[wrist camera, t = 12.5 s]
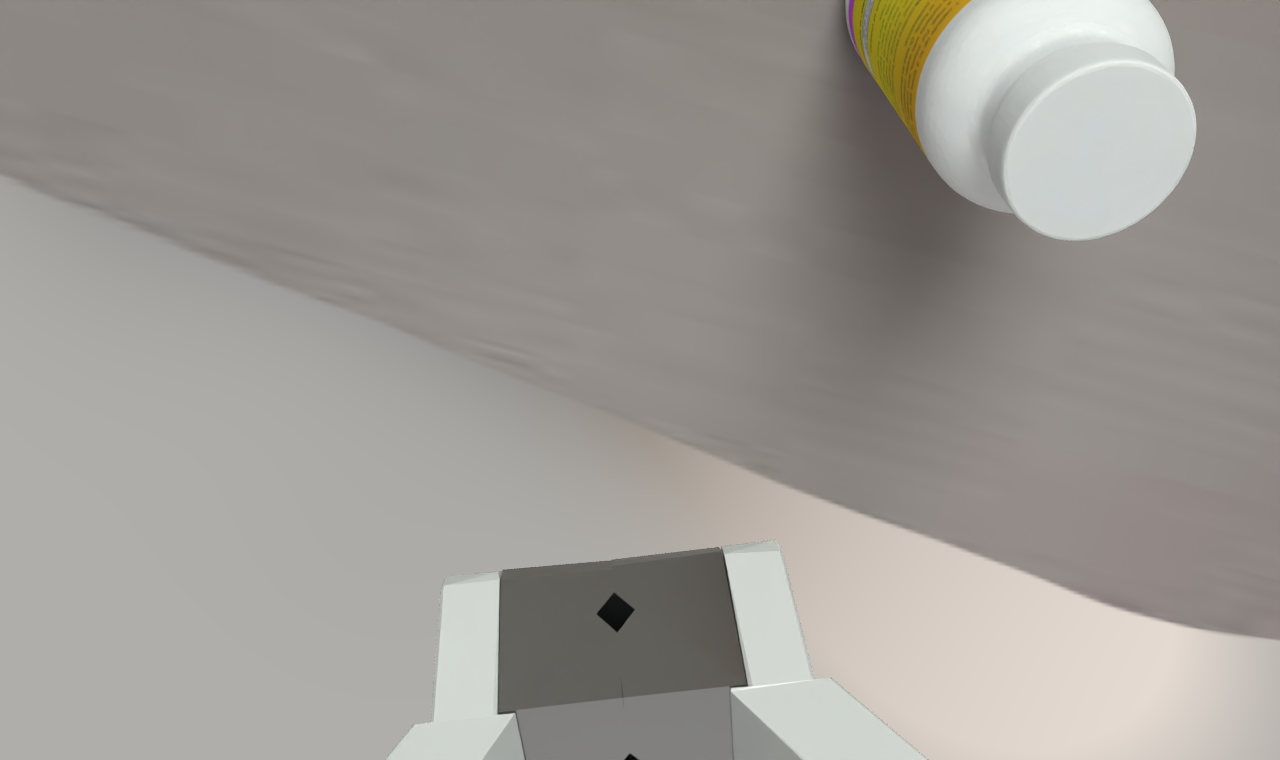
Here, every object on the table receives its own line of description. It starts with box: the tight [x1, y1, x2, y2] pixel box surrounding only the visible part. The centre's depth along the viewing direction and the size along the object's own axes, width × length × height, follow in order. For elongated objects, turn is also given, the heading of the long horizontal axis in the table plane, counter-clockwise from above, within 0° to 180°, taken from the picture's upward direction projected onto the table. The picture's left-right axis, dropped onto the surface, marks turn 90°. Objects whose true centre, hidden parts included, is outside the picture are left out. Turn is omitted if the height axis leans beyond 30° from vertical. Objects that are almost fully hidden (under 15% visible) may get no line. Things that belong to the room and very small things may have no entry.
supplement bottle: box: [845, 0, 1196, 241], centre depth 34 cm, size 7×7×13 cm
